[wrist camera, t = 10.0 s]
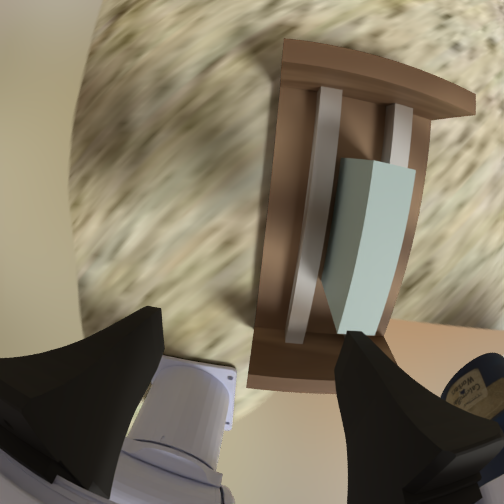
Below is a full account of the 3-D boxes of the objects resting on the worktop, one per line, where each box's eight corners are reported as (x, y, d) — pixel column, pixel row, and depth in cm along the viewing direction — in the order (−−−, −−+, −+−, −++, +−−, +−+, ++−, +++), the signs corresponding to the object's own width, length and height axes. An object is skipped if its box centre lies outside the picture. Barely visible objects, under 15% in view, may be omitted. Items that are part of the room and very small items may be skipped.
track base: (375, 341, 21) (397, 392, 15) (253, 332, 21) (246, 387, 16) (425, 105, 15) (475, 94, 9) (281, 73, 15) (283, 38, 10)
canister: (488, 391, 23) (539, 490, 6) (428, 418, 25) (468, 537, 8) (507, 334, 20) (587, 442, 3) (442, 364, 22) (513, 509, 5)
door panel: (349, 283, 18) (374, 335, 13) (321, 280, 18) (337, 333, 13) (371, 163, 16) (415, 170, 10) (340, 157, 16) (373, 160, 10)
